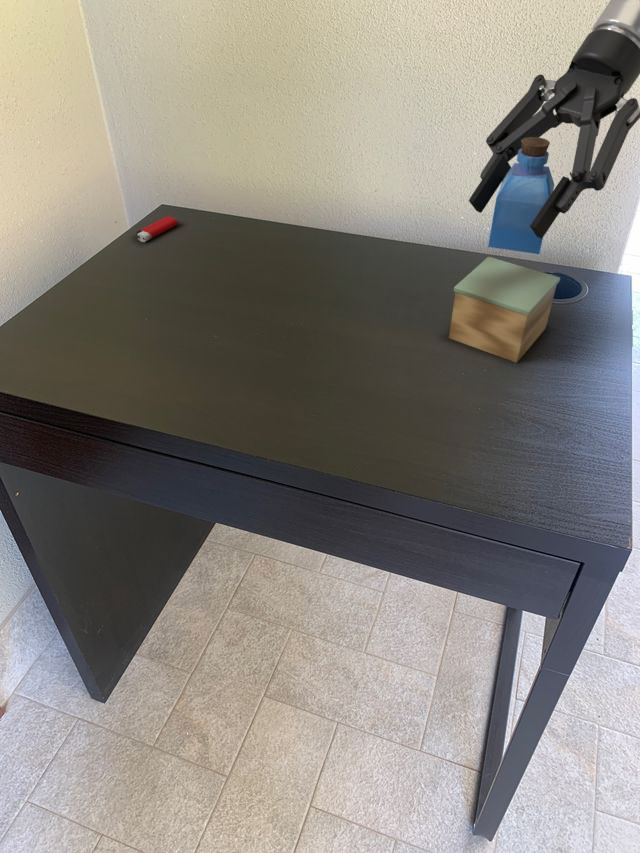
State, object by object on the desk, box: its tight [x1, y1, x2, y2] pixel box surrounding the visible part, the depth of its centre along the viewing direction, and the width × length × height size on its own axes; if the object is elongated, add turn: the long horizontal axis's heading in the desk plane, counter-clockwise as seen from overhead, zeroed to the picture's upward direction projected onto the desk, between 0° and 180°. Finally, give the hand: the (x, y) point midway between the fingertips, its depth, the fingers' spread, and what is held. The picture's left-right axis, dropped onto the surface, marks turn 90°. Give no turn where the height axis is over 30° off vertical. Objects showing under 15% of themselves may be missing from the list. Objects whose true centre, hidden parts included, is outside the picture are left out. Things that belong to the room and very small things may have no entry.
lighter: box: [136, 215, 179, 243], centre depth 119 cm, size 3×1×8 cm
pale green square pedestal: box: [448, 256, 561, 364], centre depth 92 cm, size 10×10×8 cm
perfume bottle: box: [487, 137, 555, 255], centre depth 82 cm, size 6×6×12 cm
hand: (504, 219), depth 82 cm, fingers closed on perfume bottle, 8 cm apart
